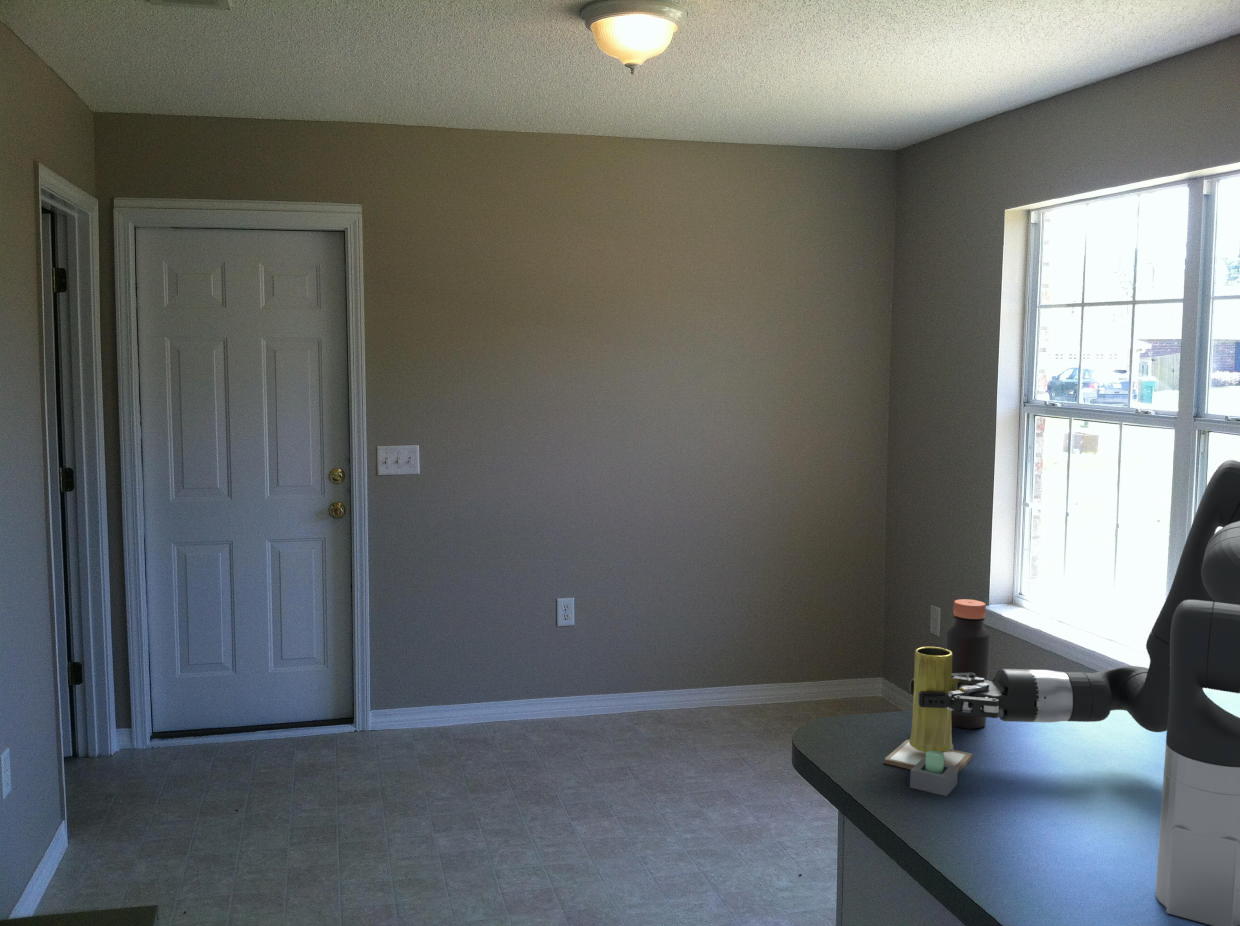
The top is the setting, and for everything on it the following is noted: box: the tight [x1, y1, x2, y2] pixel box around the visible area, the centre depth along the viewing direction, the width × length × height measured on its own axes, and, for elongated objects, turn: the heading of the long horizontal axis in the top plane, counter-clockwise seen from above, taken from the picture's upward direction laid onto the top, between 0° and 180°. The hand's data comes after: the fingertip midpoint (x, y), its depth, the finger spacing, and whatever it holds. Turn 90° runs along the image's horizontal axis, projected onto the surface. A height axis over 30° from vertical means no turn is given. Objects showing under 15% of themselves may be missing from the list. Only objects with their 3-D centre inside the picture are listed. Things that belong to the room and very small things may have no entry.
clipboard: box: [883, 739, 974, 774], centre depth 154 cm, size 10×10×1 cm
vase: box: [909, 646, 954, 753], centre depth 153 cm, size 6×6×14 cm
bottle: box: [945, 598, 991, 730], centre depth 170 cm, size 7×7×20 cm
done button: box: [925, 750, 944, 774], centre depth 144 cm, size 2×2×3 cm
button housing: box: [909, 759, 959, 797], centre depth 144 cm, size 5×5×2 cm
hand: (914, 692), depth 153 cm, fingers closed on vase, 5 cm apart
